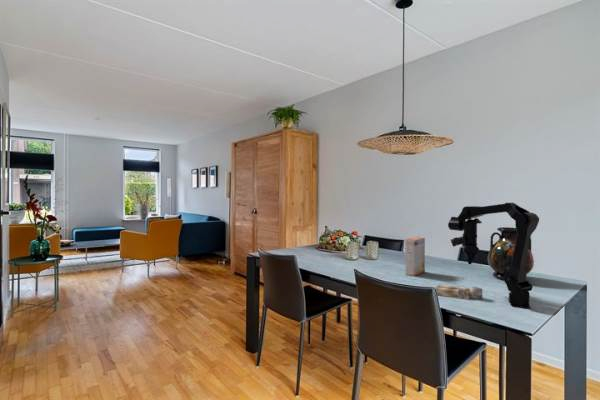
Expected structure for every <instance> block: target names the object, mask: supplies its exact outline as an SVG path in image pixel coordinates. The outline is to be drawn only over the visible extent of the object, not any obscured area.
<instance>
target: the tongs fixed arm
mask: <svg viewBox="0 0 600 400" xmlns="http://www.w3.org/2000/svg"><path fill="white" fill-rule="evenodd" d="M461 288H462V287H461ZM461 288H458V289H449V288H440V287H438V286H435V288H434V290H435V289H436V291H437V294H438V295H437V296H443V297H452V298H457V297H458V298H459V299H466V300H469V299H470V296H469V291H466V290H464V289H461Z"/></svg>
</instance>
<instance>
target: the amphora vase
mask: <svg viewBox="0 0 600 400" xmlns="http://www.w3.org/2000/svg"><path fill="white" fill-rule="evenodd" d="M496 230H497V231H498V232H493V233H492V234H491V235H490V246H489V247H490V248H489V251H488V254H487V263H488V265H489V267H490V268H491V269H492V270H493V272H492V276H493V277H494V278H496V279H498V280H501V281H504V277H502V276H503V275H504V268H506V267H510V266H511V263H512V258H513V253H514V248H515V243H516V238H517V230H516V227H503V226H502V227H500V226H499V227H498V228H496ZM499 232H500V233H499ZM495 235H496V236H498V238H499V239H498V240H496V242H494V240H493V239H494V236H495ZM534 263H535V260H534V255H533V253H532V237H531V238H530V243H529V248H528V252H527V257H526V262H525V270H526V279H527V281H528V280H529V278H528V274H530V272H531V271H533V269H534V267H535V265H534Z"/></svg>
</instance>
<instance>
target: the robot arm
mask: <svg viewBox="0 0 600 400" xmlns="http://www.w3.org/2000/svg"><path fill="white" fill-rule="evenodd" d="M499 213H501V214H502V213H507V214H508V216H509V217H510V218H511V219H513V220H514V221H515V225H514V226H515V228H516V230H517V238H516V243H515V248H514V253H513V258H512V263H511V266H510V267H506V268H504V275H503V276H502V277H504V280H503V282H504V283H505V285H506V288H507V290H508V291H509V292H508V303H509V304H510V306H511V307H516V308H522V309H531V306H530V292H531V291H532V290H533V287H534V286H533V285H532V284H531V283H530V282H529V281H528V280H527V279H526V276H527V274H526V270H525V262H526V257H527V252H528V248H529V243H530V238H531V239H532V234H533V233H534V232H535V231H536V229H537V227H538V225H539V224H540V223H539V222H540V217H539V216H538V215H537V213H535V212H530V211H529V210H527V209H525V208H523V207H521V206H520V205H518V204H516V202H505V203H500V204H492V205H485V206H478V205H477V206H476V205H475V206H473V205H472V206H471V205H470V206H469V205H467V206H464V207H462V210H461V212H460V213H459V215H458V216H451V217H450V219H449V221H448V222H447V226H448V229H449V230H451V231H459V232H463V233H462V236H459V237H457V236H456V237H453V238H451V239H450V243H451V245H452V247H453V248H454V247H457V246H459V245H461V246H462V247H463V248H462V251H463V252H464V253H465V255H466V258H467V264H468V265H472V263H473V261H474V259H475V257H476V255H477V254H479V253H480V248H479V247H478V224H482V221H481V220H480V219H479V218H480V217H483V216H486V215H490V214H493V215H494V214H499Z"/></svg>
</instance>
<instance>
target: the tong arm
mask: <svg viewBox="0 0 600 400" xmlns="http://www.w3.org/2000/svg"><path fill="white" fill-rule="evenodd" d="M437 287H440V288H449V289H458V288H461V289H464V290H466V291H469V298H471V299H474V300H482V299H483V289H482V287H478V286H477V287H476V286H471V287H469V288H467V287H460V286H451V285H441V284H437Z"/></svg>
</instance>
